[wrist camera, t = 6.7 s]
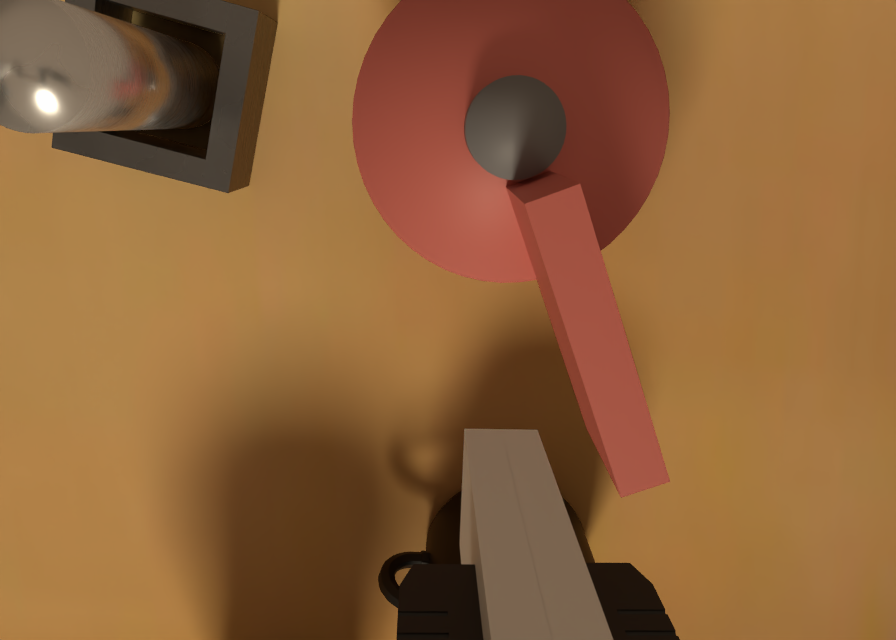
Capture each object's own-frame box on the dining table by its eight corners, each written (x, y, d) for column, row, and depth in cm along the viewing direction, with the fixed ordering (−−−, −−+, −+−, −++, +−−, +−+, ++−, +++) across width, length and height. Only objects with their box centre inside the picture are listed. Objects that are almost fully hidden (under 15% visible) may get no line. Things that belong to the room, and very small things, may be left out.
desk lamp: (473, 444, 31) (485, 541, 24) (311, 32, 26) (263, -2, 19) (721, 360, 30) (812, 434, 23) (606, -87, 25) (676, -170, 18)
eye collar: (91, 144, 33) (51, 147, 29) (109, -26, 30) (69, -43, 27) (248, 185, 33) (228, 193, 30) (277, 22, 31) (259, 10, 28)
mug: (401, 451, 38) (392, 550, 29) (602, 491, 39) (651, 597, 30) (369, 588, 40) (352, 715, 32) (558, 621, 41) (592, 753, 33)
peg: (134, 115, 32) (-53, 112, 20) (145, 30, 31) (-45, -31, 19) (217, 137, 33) (83, 148, 20) (230, 53, 32) (98, 9, 19)
